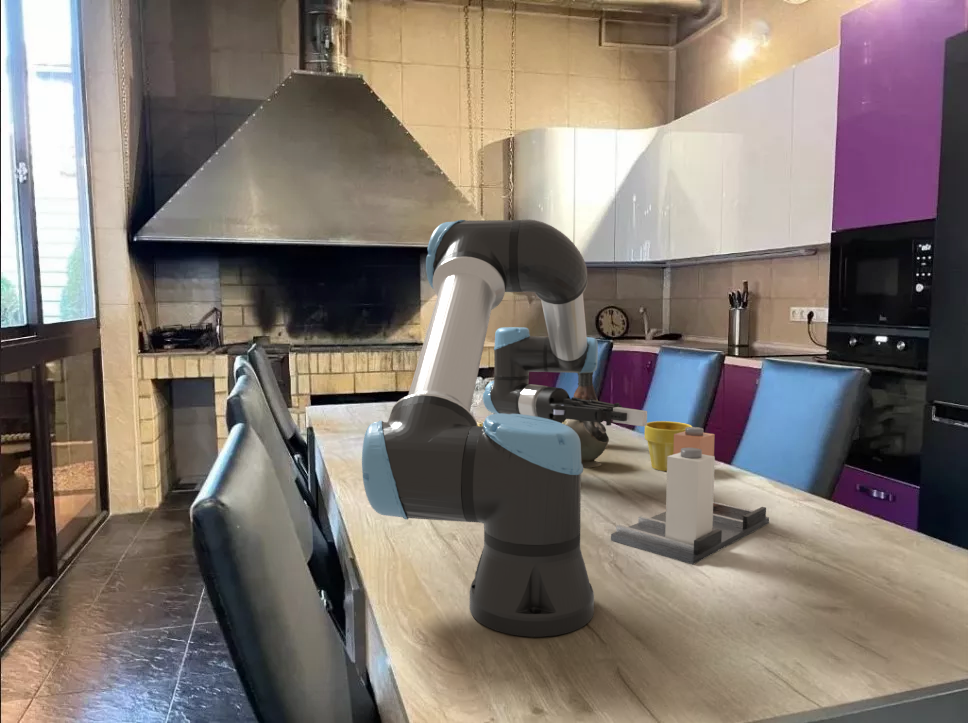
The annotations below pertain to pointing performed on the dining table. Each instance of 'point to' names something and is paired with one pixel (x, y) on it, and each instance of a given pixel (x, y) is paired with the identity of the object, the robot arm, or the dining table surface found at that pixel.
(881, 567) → the dining table surface
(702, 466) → the white square bottle
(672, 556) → the dark grey divided tray
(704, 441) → the orange square bottle
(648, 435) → the plant pot
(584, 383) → the sauce bottle
